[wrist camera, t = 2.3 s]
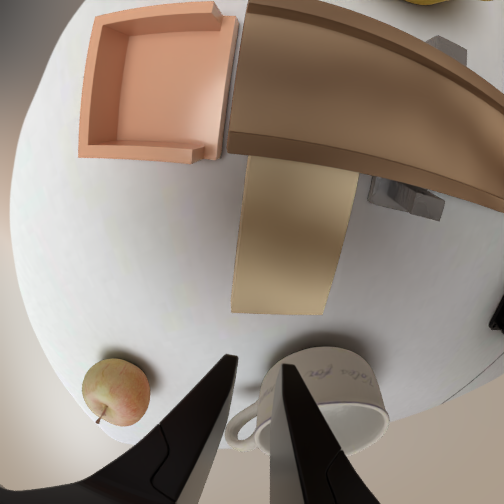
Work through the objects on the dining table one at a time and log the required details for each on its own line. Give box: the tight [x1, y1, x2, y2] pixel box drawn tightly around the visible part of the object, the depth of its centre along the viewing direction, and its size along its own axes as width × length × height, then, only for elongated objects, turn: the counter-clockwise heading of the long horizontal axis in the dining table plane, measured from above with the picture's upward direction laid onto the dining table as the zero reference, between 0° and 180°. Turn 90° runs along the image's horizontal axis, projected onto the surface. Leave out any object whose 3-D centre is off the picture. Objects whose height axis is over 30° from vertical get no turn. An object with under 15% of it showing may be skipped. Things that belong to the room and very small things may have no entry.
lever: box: [226, 0, 504, 315], centre depth 13 cm, size 15×22×3 cm
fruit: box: [82, 359, 150, 426], centre depth 25 cm, size 8×7×8 cm
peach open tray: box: [78, 1, 239, 164], centre depth 15 cm, size 10×9×4 cm
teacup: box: [225, 347, 390, 456], centre depth 22 cm, size 14×11×8 cm
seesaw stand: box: [367, 35, 467, 221], centre depth 14 cm, size 12×4×5 cm, turn 173°
